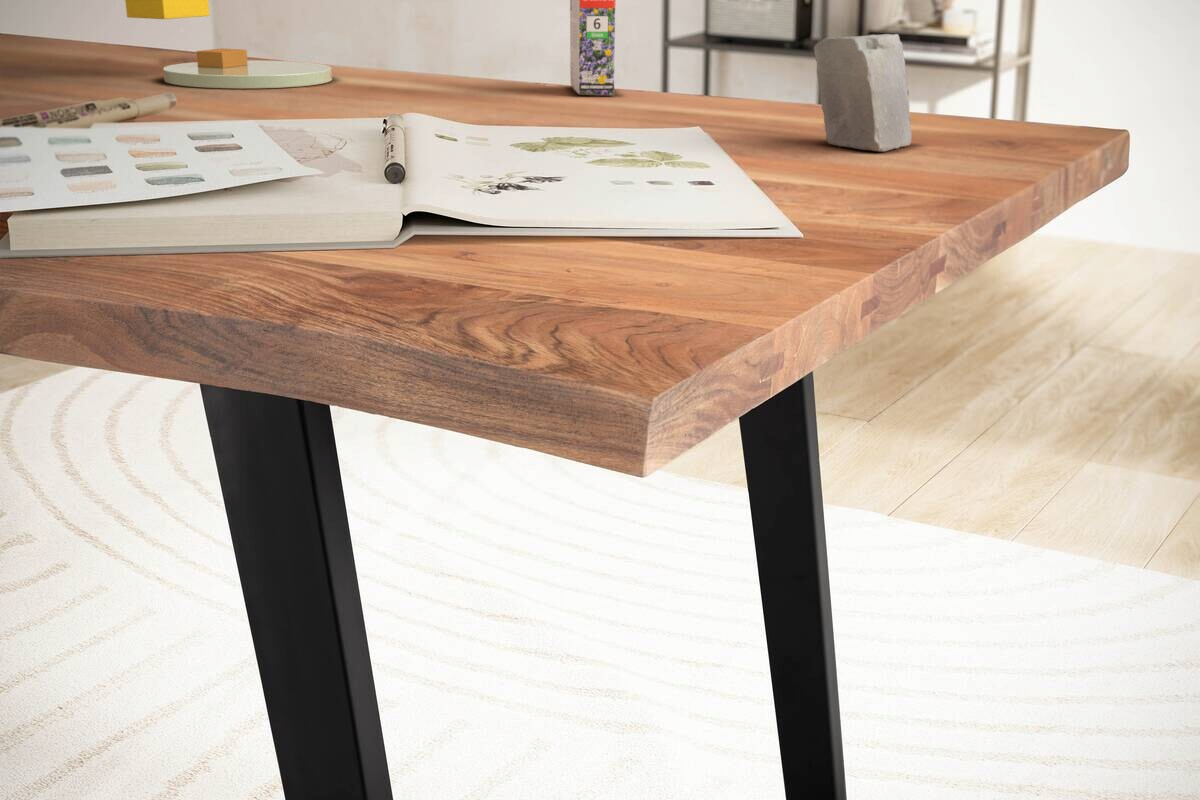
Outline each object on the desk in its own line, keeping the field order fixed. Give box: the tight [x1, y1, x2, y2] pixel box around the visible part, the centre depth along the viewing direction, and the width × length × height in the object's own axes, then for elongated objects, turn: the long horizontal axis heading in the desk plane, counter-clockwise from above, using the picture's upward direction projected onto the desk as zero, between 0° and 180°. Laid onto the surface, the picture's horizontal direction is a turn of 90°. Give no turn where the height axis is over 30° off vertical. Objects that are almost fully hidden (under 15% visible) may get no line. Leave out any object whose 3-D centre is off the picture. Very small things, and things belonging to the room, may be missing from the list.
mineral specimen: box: [813, 32, 913, 152], centre depth 91 cm, size 7×9×8 cm
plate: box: [162, 59, 333, 90], centre depth 126 cm, size 16×16×1 cm
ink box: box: [569, 0, 616, 96], centre depth 119 cm, size 4×8×15 cm, turn 7°
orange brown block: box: [196, 47, 248, 68], centre depth 126 cm, size 3×4×2 cm
